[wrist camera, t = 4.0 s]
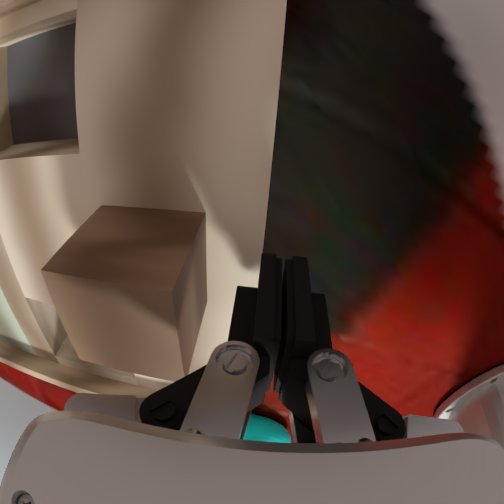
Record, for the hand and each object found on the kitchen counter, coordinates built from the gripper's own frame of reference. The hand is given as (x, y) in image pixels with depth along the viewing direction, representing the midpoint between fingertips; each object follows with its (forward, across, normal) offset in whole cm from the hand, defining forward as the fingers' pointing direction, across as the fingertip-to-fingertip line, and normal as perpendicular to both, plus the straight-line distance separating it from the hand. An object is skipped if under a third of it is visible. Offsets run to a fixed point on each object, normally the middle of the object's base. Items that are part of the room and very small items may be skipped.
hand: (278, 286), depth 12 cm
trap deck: (+4, +13, 0) cm, 13 cm away
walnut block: (+1, +5, 0) cm, 5 cm away
